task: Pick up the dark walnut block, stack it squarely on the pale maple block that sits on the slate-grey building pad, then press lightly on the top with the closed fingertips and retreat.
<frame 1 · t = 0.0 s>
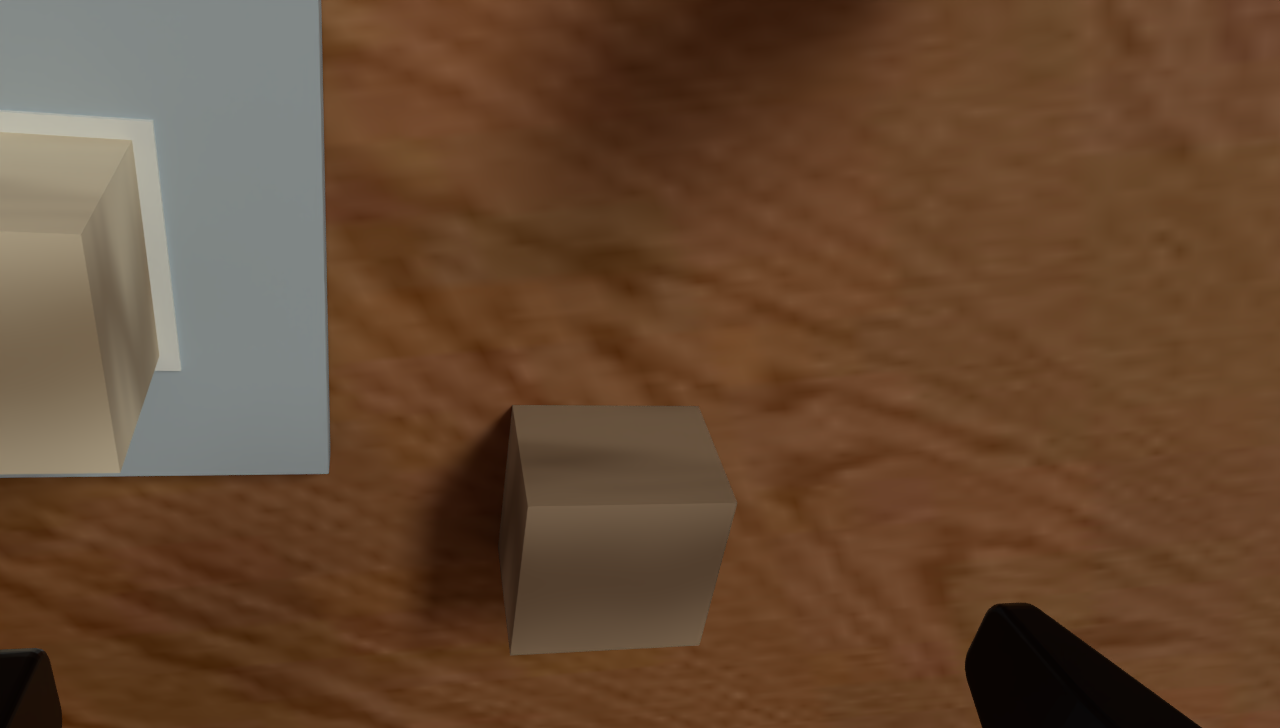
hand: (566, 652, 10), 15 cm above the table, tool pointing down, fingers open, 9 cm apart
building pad: (24, 229, 21), on the table
maple block: (11, 249, 20), point 1 cm above the table, touching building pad
walnut block: (594, 475, 28), on the table
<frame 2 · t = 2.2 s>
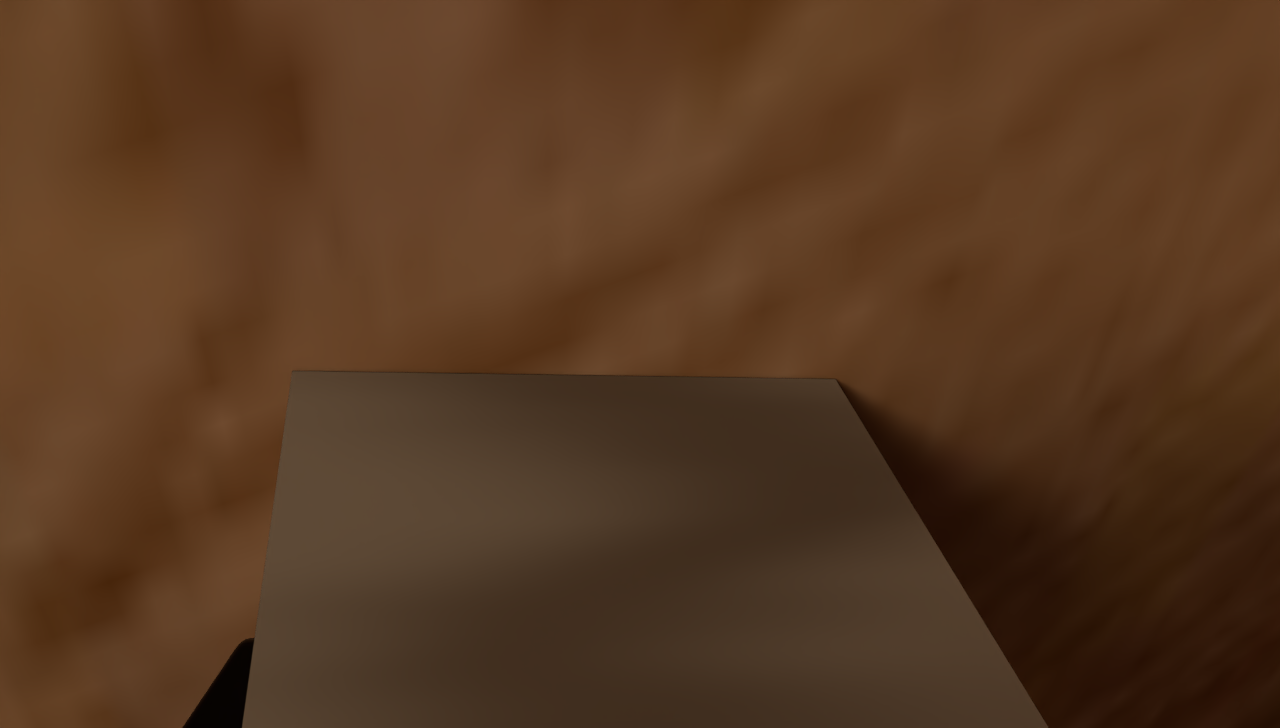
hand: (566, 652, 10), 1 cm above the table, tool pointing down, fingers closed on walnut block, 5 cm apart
walnut block: (552, 573, 11), on the table, touching gripper
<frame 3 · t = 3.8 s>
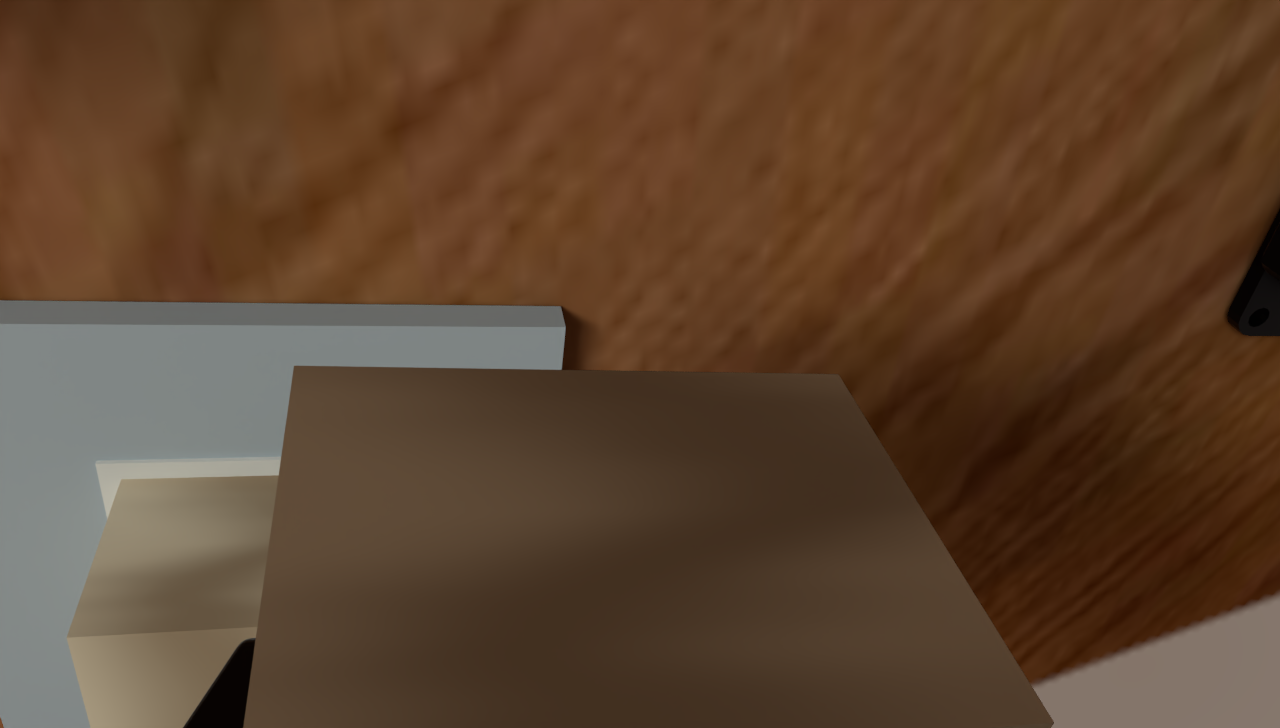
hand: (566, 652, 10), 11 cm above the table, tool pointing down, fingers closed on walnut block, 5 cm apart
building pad: (270, 536, 23), on the table
maple block: (265, 565, 22), point 1 cm above the table, touching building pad
walnut block: (554, 569, 11), point 10 cm above the table, touching gripper
when the fingers open (7 cm above the table, at t = 5.7 s): walnut block drops 1 cm, resting on maple block.
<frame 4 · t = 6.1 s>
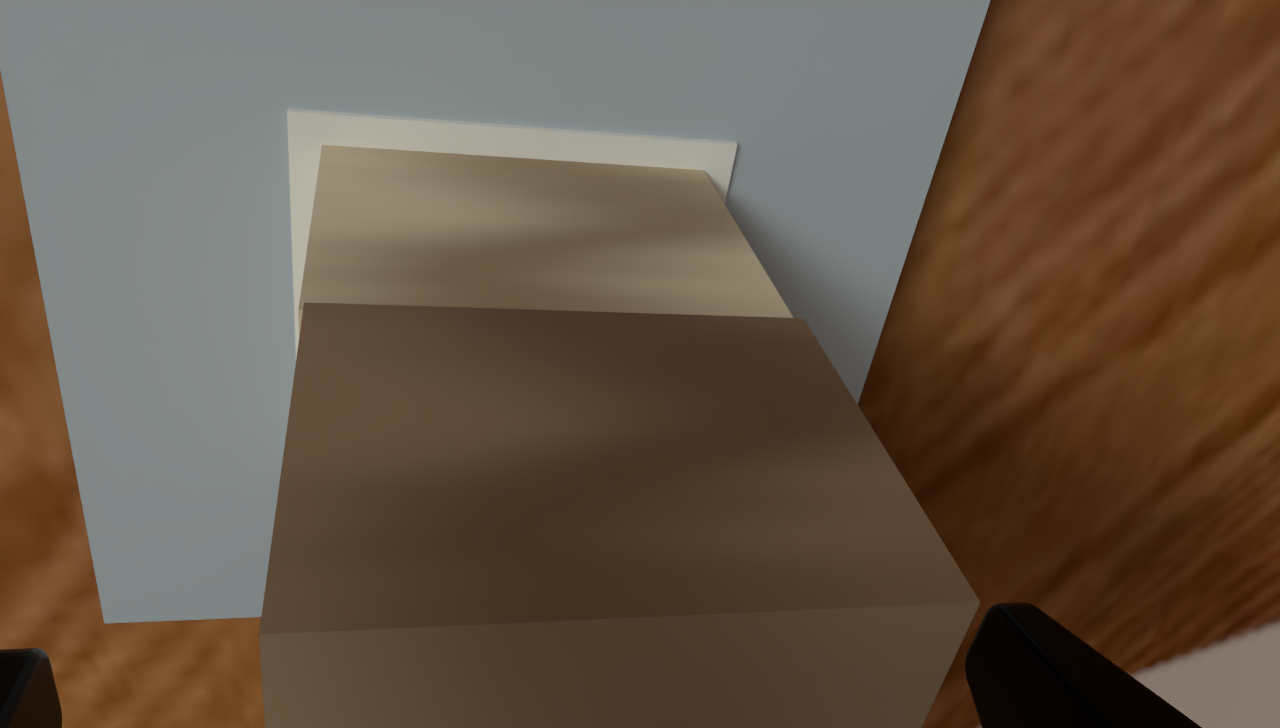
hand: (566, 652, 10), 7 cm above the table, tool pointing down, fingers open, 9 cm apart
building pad: (500, 289, 15), on the table
maple block: (506, 320, 15), point 1 cm above the table, touching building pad, walnut block
walnut block: (543, 502, 11), point 5 cm above the table, touching maple block
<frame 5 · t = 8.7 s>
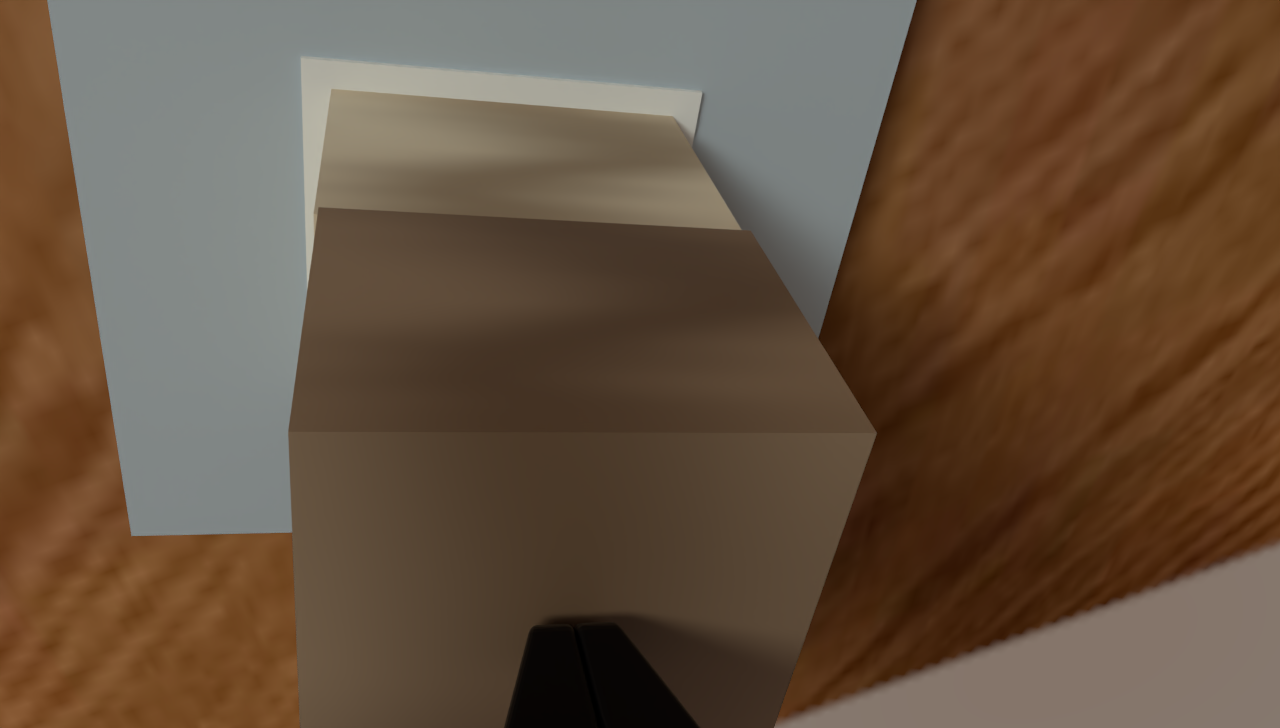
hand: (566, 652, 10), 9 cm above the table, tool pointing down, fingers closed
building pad: (491, 228, 17), on the table
maple block: (496, 254, 16), point 1 cm above the table, touching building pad, walnut block
walnut block: (525, 396, 13), point 5 cm above the table, touching maple block
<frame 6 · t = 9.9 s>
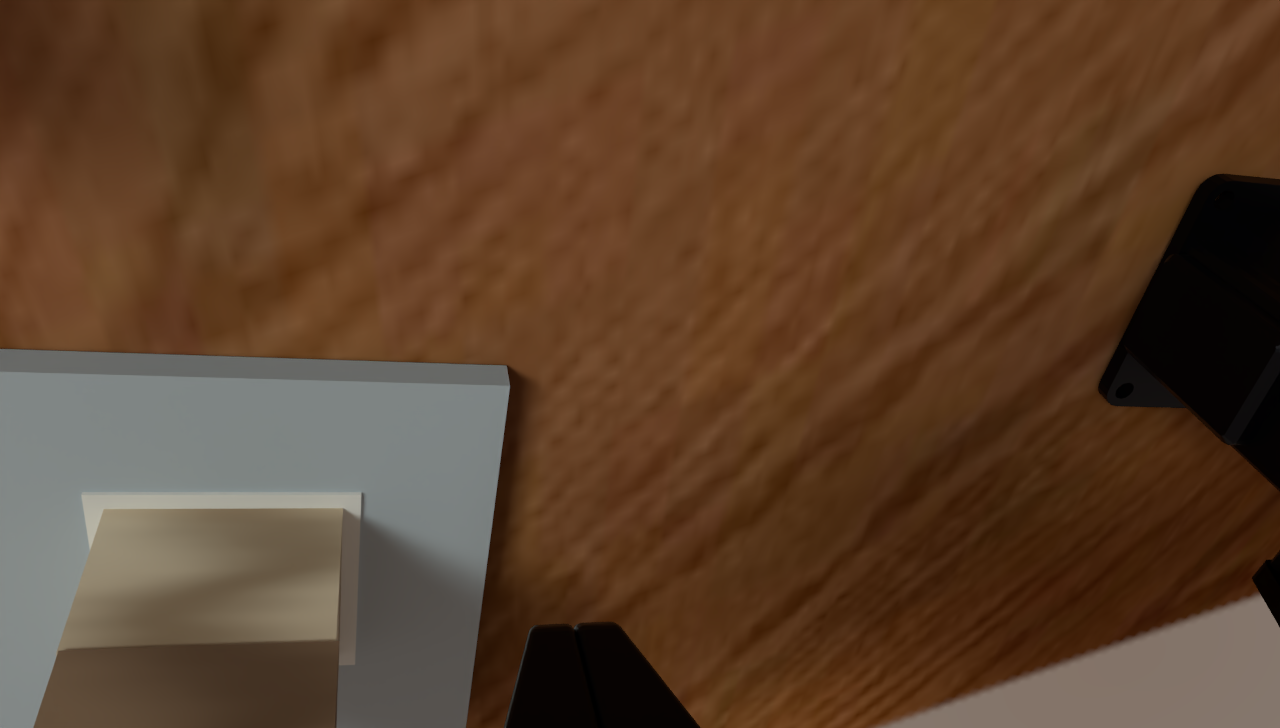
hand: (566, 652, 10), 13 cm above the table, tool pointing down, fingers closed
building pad: (235, 560, 25), on the table
maple block: (231, 588, 24), point 1 cm above the table, touching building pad, walnut block
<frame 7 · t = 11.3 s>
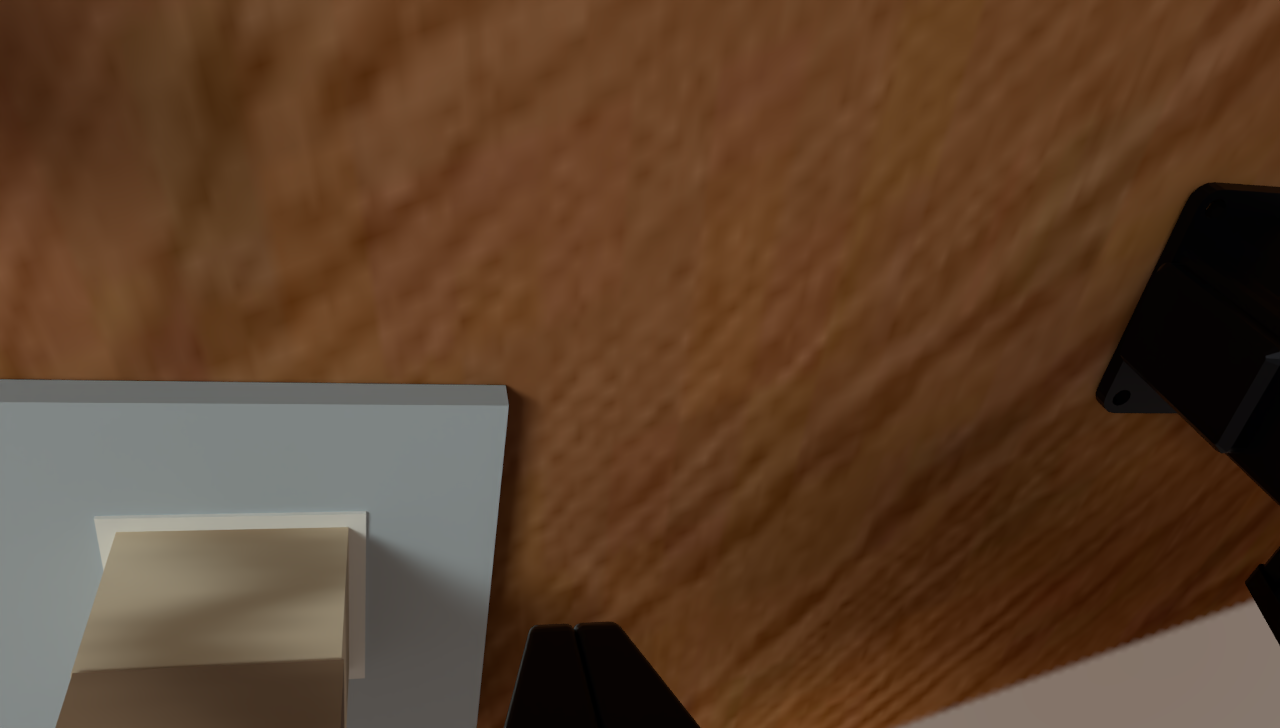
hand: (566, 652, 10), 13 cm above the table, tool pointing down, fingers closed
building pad: (246, 578, 26), on the table
maple block: (241, 605, 25), point 1 cm above the table, touching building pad, walnut block
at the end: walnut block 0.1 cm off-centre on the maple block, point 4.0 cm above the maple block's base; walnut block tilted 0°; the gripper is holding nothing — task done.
